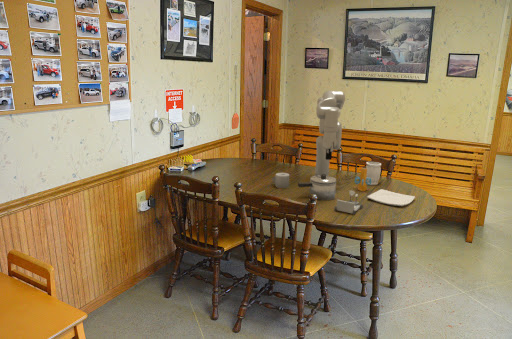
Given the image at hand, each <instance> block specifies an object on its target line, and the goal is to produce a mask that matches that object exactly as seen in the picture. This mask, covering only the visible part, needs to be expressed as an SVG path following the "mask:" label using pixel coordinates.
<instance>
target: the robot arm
mask: <svg viewBox="0 0 512 339" xmlns="http://www.w3.org/2000/svg"><path fill="white" fill-rule="evenodd" d="M345 101H346V94H345V93H344V91H343V90H326V91H325V92H323V93H322V97H318V98H317V100H316V103H317V105H316V110H315V112H316V118H318V119H319V121H318V122H319V126H318V128H319V129H318V130H319V133H320V134H321V135H320V136H318V137H317V138H316V140H315V141H316V142H315V146H316V155H315V156H316V157H315V173H314V175H313V176H315V175H321V174H325V175H326V176H329V170H330V160H332V158H333V156H332V155H333V153H334V150H339V149H340V148H341V145H342V131H343V126H342V122H341V121H339V118H340V116H341V110H342V109H343V107H344V105H345Z"/></svg>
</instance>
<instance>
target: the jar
mask: <svg viewBox="0 0 512 339" xmlns="http://www.w3.org/2000/svg"><path fill="white" fill-rule="evenodd" d="M365 164H366V166H365V168H367V177H366V178H368V177H370V178H371V184H370V183H368V184H370V185H369V186H377V185H378V184H379V183H378V182H379V180H380V176H381V174H382V173H381V172H382V171H381V170H382V169H381V166H382V163H381V162H378V161H366V163H365ZM368 179H369V178H368ZM369 181H370V180H367V182H369Z"/></svg>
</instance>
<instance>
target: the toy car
mask: <svg viewBox="0 0 512 339" xmlns="http://www.w3.org/2000/svg"><path fill="white" fill-rule="evenodd" d="M348 193H349V196H350V197H349V198H350V199H349V200H348V201H345V200H341V199H336V205H335V207H334V212H337V211H339V212H343V213H349V214H351V215H353V216H355V215H356V213H357V211H358V210H359V209H360V210H362V209H363V208H364V205H363V204H360V202H359V201H358V200H357V199H358V198H357V197H359V194H358V193H356V191H354V189H352V190H350V189H349V190H348ZM353 196H354V197H355V201H353V200H352V197H353Z"/></svg>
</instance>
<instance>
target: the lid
mask: <svg viewBox="0 0 512 339" xmlns="http://www.w3.org/2000/svg"><path fill="white" fill-rule="evenodd" d="M314 175H315V174H314ZM314 175H313V176H310V179H311V181H312V182H316V183H322V184H331V183H335V182H336V183H337V178H335V177H333V176H330V175H328V176H326V175H325V174H321V175H315V176H314Z"/></svg>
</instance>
